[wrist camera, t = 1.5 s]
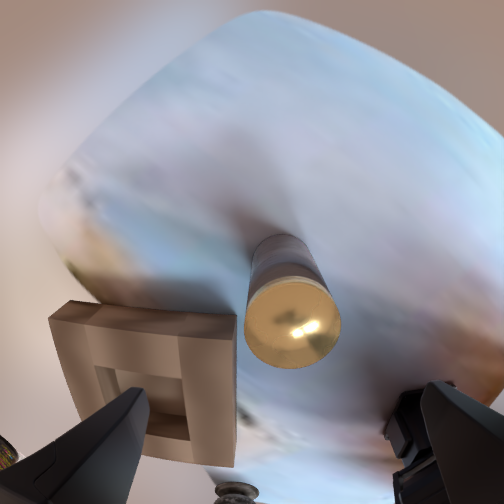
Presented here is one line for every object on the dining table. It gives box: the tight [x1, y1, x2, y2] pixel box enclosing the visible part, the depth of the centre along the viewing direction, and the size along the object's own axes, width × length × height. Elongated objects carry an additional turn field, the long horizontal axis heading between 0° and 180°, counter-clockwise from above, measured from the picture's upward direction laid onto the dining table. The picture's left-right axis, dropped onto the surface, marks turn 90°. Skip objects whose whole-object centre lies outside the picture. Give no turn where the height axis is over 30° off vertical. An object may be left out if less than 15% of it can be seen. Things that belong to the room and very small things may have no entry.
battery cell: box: [244, 234, 341, 369], centre depth 17 cm, size 4×4×9 cm
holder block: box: [48, 300, 237, 468], centre depth 23 cm, size 14×14×4 cm
